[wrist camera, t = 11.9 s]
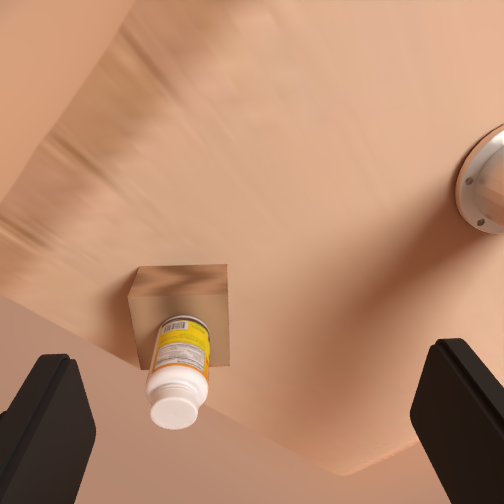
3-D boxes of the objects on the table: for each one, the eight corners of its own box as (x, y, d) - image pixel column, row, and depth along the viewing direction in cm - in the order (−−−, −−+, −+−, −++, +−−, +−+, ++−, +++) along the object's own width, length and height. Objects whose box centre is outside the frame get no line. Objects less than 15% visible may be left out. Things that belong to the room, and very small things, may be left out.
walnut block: (227, 264, 43) (227, 294, 38) (228, 331, 48) (229, 366, 43) (139, 266, 43) (127, 297, 37) (150, 334, 47) (140, 369, 42)
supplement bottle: (191, 359, 42) (182, 444, 33) (148, 338, 40) (126, 421, 31) (221, 328, 40) (220, 408, 31) (177, 303, 38) (162, 381, 29)
